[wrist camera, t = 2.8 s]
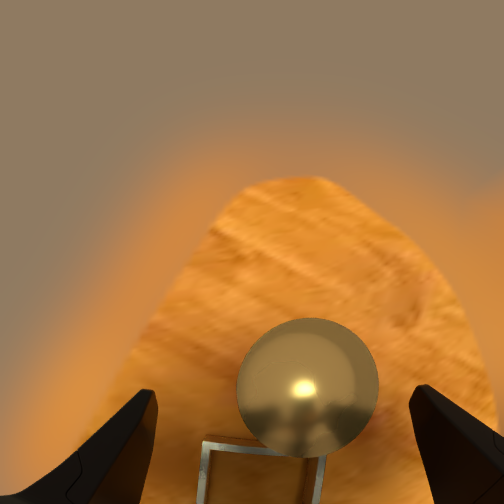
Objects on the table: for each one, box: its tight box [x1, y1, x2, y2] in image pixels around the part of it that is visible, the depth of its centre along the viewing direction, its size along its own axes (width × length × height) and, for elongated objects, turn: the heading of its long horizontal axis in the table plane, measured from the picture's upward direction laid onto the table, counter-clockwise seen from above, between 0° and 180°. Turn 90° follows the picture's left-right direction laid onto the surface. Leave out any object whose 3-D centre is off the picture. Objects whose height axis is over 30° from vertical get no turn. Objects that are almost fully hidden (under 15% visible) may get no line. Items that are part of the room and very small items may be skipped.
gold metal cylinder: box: [236, 318, 379, 458], centre depth 12 cm, size 4×4×11 cm
